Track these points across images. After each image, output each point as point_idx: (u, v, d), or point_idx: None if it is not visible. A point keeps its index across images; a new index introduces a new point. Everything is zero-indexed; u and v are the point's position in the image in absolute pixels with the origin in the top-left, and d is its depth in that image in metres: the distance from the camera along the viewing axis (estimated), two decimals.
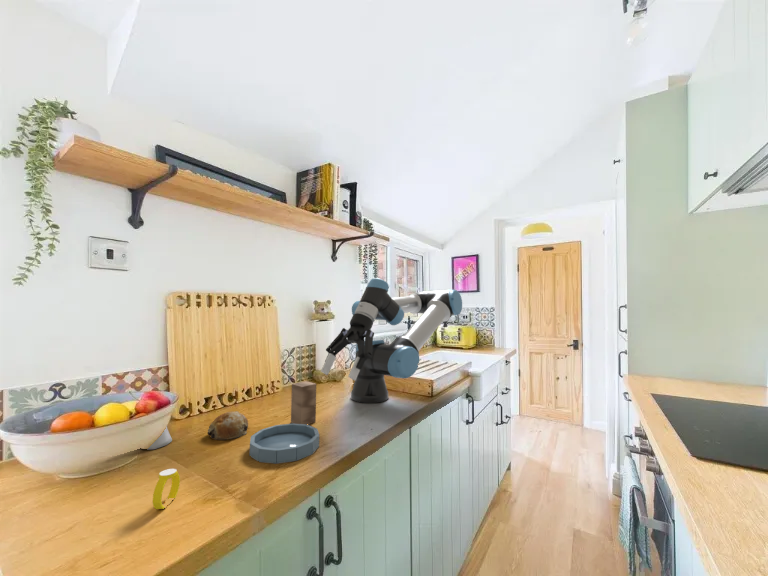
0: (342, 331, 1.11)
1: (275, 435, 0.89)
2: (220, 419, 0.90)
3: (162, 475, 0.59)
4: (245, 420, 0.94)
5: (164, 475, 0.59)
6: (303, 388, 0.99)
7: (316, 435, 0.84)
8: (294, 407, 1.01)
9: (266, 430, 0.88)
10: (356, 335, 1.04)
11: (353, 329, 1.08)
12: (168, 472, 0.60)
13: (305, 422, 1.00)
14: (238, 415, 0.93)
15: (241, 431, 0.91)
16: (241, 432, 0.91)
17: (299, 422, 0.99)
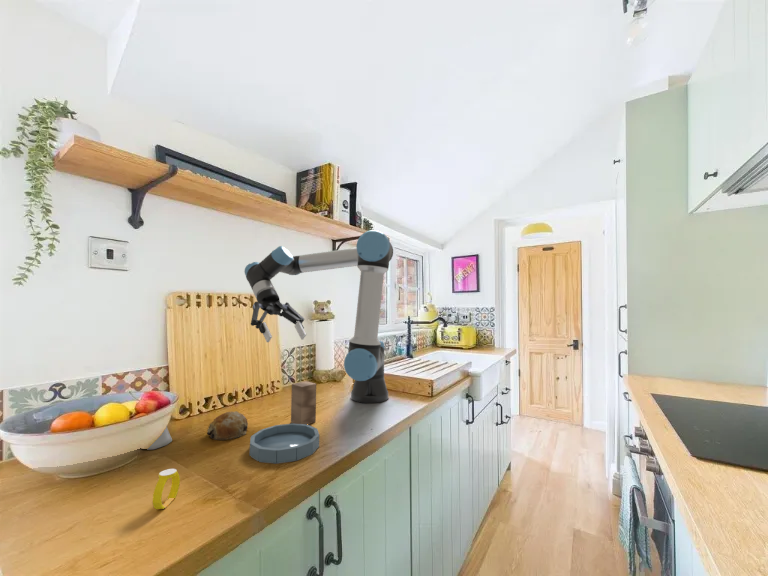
0: None
1: (275, 435, 0.89)
2: (220, 419, 0.90)
3: (162, 475, 0.59)
4: (245, 420, 0.94)
5: (164, 475, 0.59)
6: (303, 388, 0.99)
7: (316, 435, 0.84)
8: (294, 407, 1.01)
9: (266, 430, 0.88)
10: None
11: None
12: (168, 472, 0.60)
13: (305, 422, 1.00)
14: (238, 415, 0.92)
15: (241, 431, 0.91)
16: (241, 432, 0.91)
17: (299, 422, 0.99)
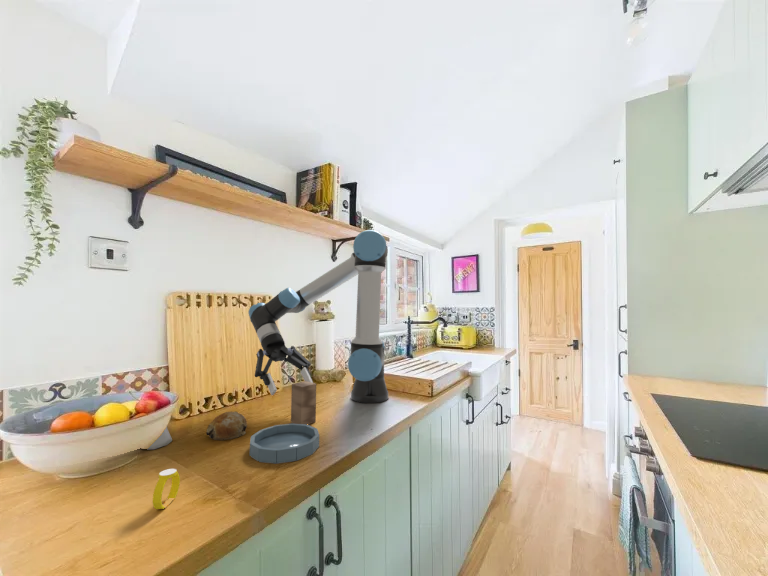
0: None
1: (275, 435, 0.89)
2: (219, 419, 0.90)
3: (162, 475, 0.59)
4: (244, 420, 0.94)
5: (164, 475, 0.59)
6: (303, 388, 0.99)
7: (316, 435, 0.84)
8: (294, 407, 1.01)
9: (266, 430, 0.88)
10: None
11: None
12: (168, 472, 0.60)
13: (305, 422, 1.00)
14: (237, 415, 0.92)
15: (240, 431, 0.90)
16: (240, 432, 0.90)
17: (299, 422, 0.99)
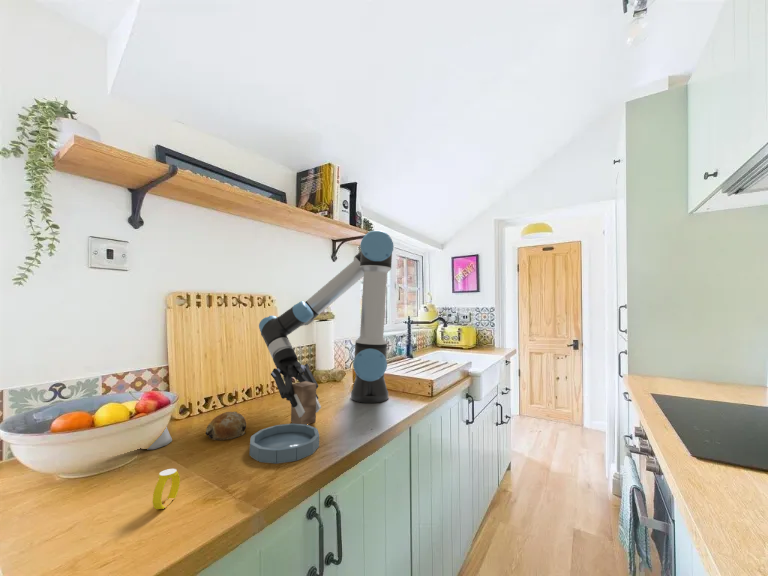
0: None
1: (275, 435, 0.89)
2: (218, 419, 0.90)
3: (162, 475, 0.59)
4: (243, 420, 0.94)
5: (164, 475, 0.59)
6: (303, 388, 0.99)
7: (316, 435, 0.84)
8: (294, 407, 1.01)
9: (266, 430, 0.88)
10: None
11: None
12: (168, 472, 0.60)
13: (305, 422, 1.00)
14: (236, 415, 0.92)
15: (239, 431, 0.90)
16: (239, 432, 0.90)
17: (299, 422, 0.99)
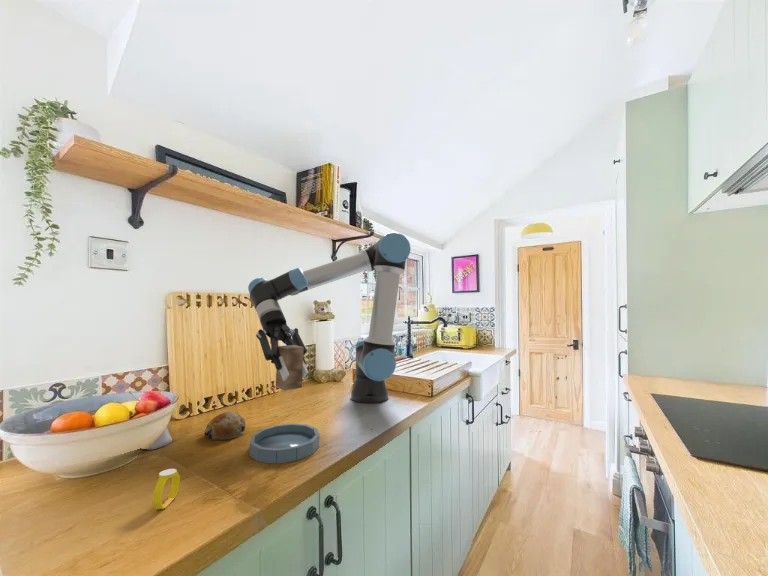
0: None
1: (275, 435, 0.89)
2: (217, 419, 0.90)
3: (162, 475, 0.59)
4: (242, 420, 0.94)
5: (164, 475, 0.59)
6: (288, 350, 0.93)
7: (316, 435, 0.84)
8: None
9: (266, 430, 0.88)
10: None
11: None
12: (168, 472, 0.60)
13: (290, 386, 0.93)
14: (235, 415, 0.92)
15: (238, 431, 0.90)
16: (238, 432, 0.90)
17: (283, 386, 0.92)
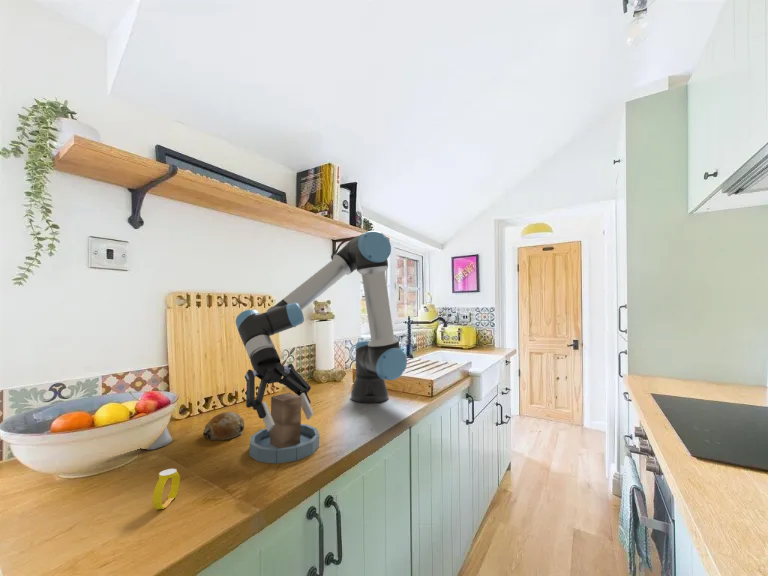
0: None
1: None
2: (216, 419, 0.90)
3: (162, 475, 0.59)
4: (241, 420, 0.94)
5: (164, 475, 0.59)
6: (284, 402, 0.81)
7: (316, 435, 0.84)
8: (274, 425, 0.83)
9: (266, 430, 0.88)
10: None
11: None
12: (168, 472, 0.60)
13: (287, 443, 0.81)
14: (234, 415, 0.92)
15: (237, 431, 0.90)
16: (237, 432, 0.90)
17: (279, 444, 0.81)
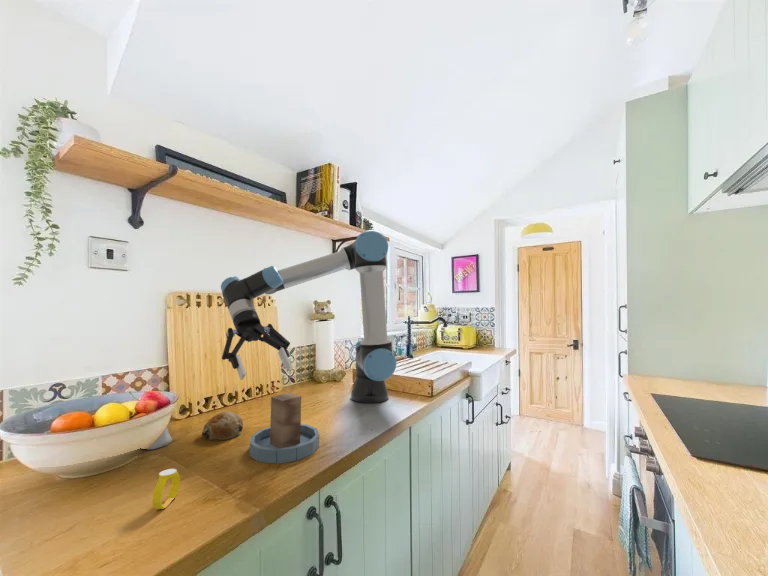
0: None
1: None
2: (215, 419, 0.90)
3: (162, 475, 0.59)
4: (240, 420, 0.93)
5: (164, 475, 0.59)
6: (284, 402, 0.81)
7: (316, 435, 0.84)
8: (274, 425, 0.83)
9: (266, 430, 0.88)
10: None
11: None
12: (168, 472, 0.60)
13: (287, 443, 0.81)
14: (233, 415, 0.92)
15: (236, 431, 0.90)
16: (236, 432, 0.90)
17: (279, 444, 0.81)
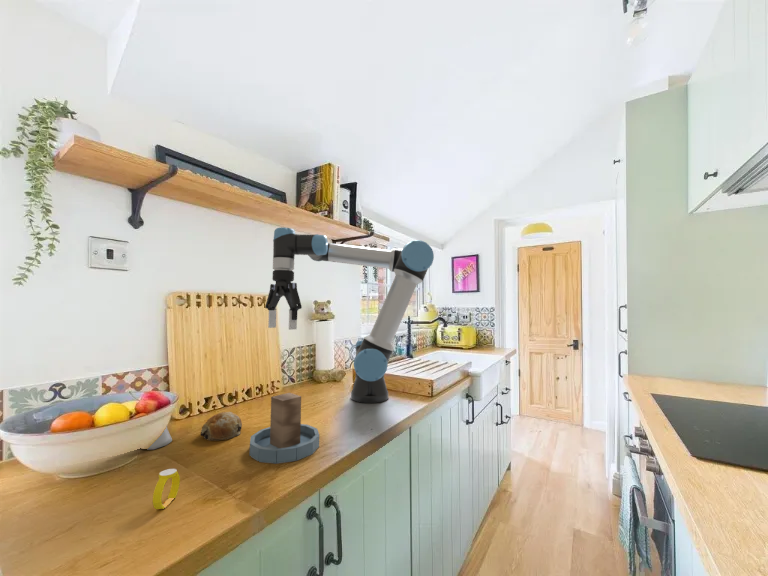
0: None
1: None
2: (213, 420, 0.90)
3: (162, 475, 0.59)
4: (239, 420, 0.93)
5: (164, 475, 0.59)
6: (284, 402, 0.81)
7: (316, 435, 0.84)
8: (274, 425, 0.83)
9: (266, 430, 0.88)
10: None
11: None
12: (168, 472, 0.60)
13: (287, 443, 0.81)
14: (232, 415, 0.92)
15: (235, 431, 0.90)
16: (235, 432, 0.90)
17: (279, 444, 0.81)
